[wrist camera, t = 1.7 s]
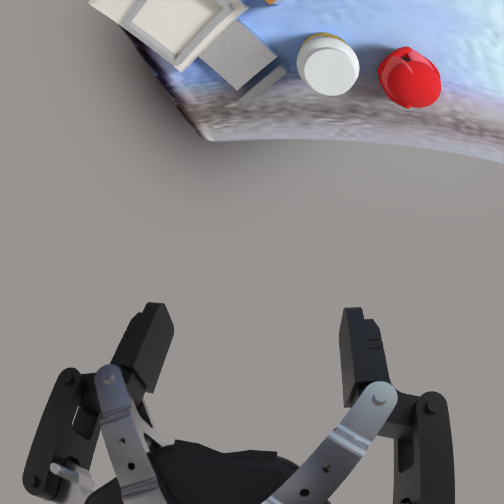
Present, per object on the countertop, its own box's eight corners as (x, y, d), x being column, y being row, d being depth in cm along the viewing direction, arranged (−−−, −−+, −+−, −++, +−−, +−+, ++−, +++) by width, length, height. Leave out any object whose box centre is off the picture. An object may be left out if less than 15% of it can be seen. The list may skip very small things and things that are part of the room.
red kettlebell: (357, 75, 22) (395, 124, 22) (395, 38, 17) (440, 91, 17) (390, 73, 26) (421, 114, 26) (422, 46, 21) (457, 89, 21)
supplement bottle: (290, 46, 24) (279, 60, 18) (332, 23, 21) (340, 28, 15) (318, 85, 27) (318, 114, 21) (360, 65, 24) (376, 87, 18)
